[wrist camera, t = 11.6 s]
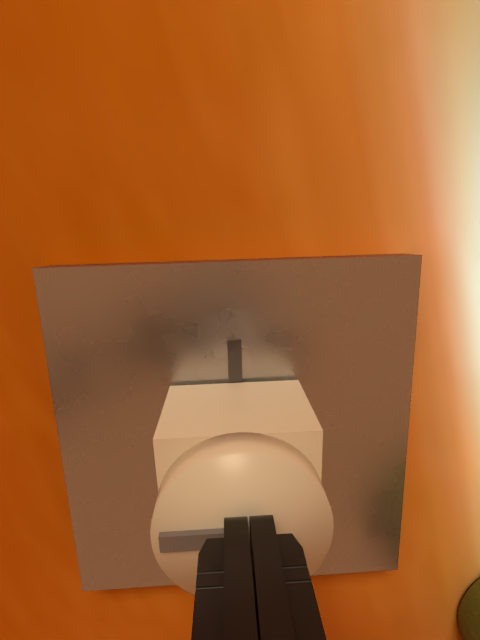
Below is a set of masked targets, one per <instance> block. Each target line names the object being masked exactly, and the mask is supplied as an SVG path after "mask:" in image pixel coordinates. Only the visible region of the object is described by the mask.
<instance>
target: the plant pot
mask: <svg viewBox="0 0 480 640" xmlns="http://www.w3.org/2000/svg"><path fill="white" fill-rule="evenodd" d="M457 618H458V623H459V628H460V632H461V635H462V638H463V640H480V578H479V579H478V580H477V581H475V582H474V584H473V585H472V586H471V587H470V588H469V589H468V591H467V592H466V593H465V595H464V597H463V599H462V601H461V603H460V606H459V609H458V617H457Z"/></svg>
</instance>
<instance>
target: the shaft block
mask: <svg viewBox="0 0 480 640" xmlns="http://www.w3.org/2000/svg"><path fill="white" fill-rule="evenodd" d="M421 261H422V255H414V254H383V255H353V256H323V257H294V258H264V259H234V260H205V261H175V262H145V263H115V264H86V265H56V266H44V267H38V268H32V269H33V276H34V282H35V289H36V295H37V301H38V308H39V314H40V321H41V327H42V334H43V340H44V347H45V353H46V359H47V366H48V372H49V379H50V385H51V392H52V398H53V404H54V411H55V417H56V424H57V430H58V437H59V443H60V450H61V456H62V462H63V469H64V475H65V482H66V488H67V495H68V501H69V508H70V514H71V520H72V527H73V533H74V540H75V546H76V553H77V559H78V565H79V572H80V578H81V585H82V591H94V590H109V589H123V588H138V587H152V586H167V585H176V584H175V583H174V582H173V581H172V580H171V579H170V578H169V577H168V576H167V575H166V574H165V573H164V571H163V570H162V569H161V567H160V566H159V564H158V562H157V560H156V558H155V555H154V553H153V550H152V545H151V538H150V528H151V521H152V516H153V512H154V508H155V504H156V500H157V495H158V485H157V476H156V466H155V457H154V447H153V437H154V434H155V431H156V428H157V424H158V421H159V418H160V415H161V412H162V409H163V406H164V403H165V400H166V397H167V393H168V390H169V387H170V386H179V385H200V384H221V383H242V382H263V381H285V380H299V382H300V384H301V386H302V388H303V390H304V392H305V394H306V396H307V398H308V401H309V403H310V405H311V407H312V409H313V411H314V413H315V415H316V417H317V419H318V421H319V423H320V425H321V427H322V429H323V448H322V477H321V483H322V486H323V488H324V491H325V494H326V496H327V499H328V501H329V504H330V507H331V510H332V515H333V523H334V530H333V538H332V542H331V545H330V548H329V551H328V553H327V555H326V557H325V559H324V560H323V562H322V563H321V565H320V566H319V568H318V569H317V570H316V571H315V572H314V574H312V575H311V576H313V575H328V574H343V573H357V572H372V571H387V570H397V568H398V555H399V543H400V530H401V517H402V504H403V491H404V479H405V466H406V453H407V440H408V427H409V415H410V402H411V389H412V376H413V363H414V351H415V338H416V325H417V312H418V299H419V287H420V274H421Z"/></svg>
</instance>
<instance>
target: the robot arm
mask: <svg viewBox="0 0 480 640" xmlns="http://www.w3.org/2000/svg"><path fill="white" fill-rule="evenodd" d="M249 531H250V541H249ZM191 640H326V637H325V633H324V629H323V625H322V621H321V617H320V613H319V609H318V605H317V601H316V598H315V594H314V590H313V586H312V583H311V578H310V574H309V570H308V568H307V562H306V558H305V555H304V551H303V547H302V546H301V545H300V543H299V542H298V541H297V539H296V538H295V537H294V535H293V534H292V533H288V534H276V529H275V523H274V518H273V515H259V516H249V529H248V518H247V516H244V517H227V518H224V538H207V539H206V541H205V543H204V544H203V546H202V548H201V550H200V552H199V554H198V565H197V577H196V591H195V601H194V613H193V626H192V638H191Z"/></svg>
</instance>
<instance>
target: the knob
mask: <svg viewBox="0 0 480 640" xmlns="http://www.w3.org/2000/svg"><path fill="white" fill-rule="evenodd" d="M153 447H154V457H155V466H156V476H157V485H158V495H157V500H156V504H155V508H154V512H153V516H152V521H151V528H150V538H151V545H152V550H153V553H154V555H155V558H156V560H157V562H158V564H159V566H160V567H161V569H162V570H163V571H164V573H165V574H166V575H167V576H168V577H169V578H170V579H171V580H172V581H173V582H174V583H175V584H176V585H178V586H179V587H180V588H182V589H183V590H185V591H187V592H189V593H190V594H192V595H195V591H196V577H197V565H198V554H199V552H200V550H201V548H202V546H203V544H204V543H205V541H206V539H207V538H224V518H227V517H244V516H247V518H248V529H249V516H259V515H273V518H274V523H275V529H276V534H288V533H292V534H293V535H294V537H295V538H296V539H297V541H298V542H299V543H300V545H301V546H302V547H303V551H304V555H305V558H306V562H307V568H308V570H309V574H310V576H311V575H312V574H314V572H315V571H316V570H317V569H318V568H319V566H320V565H321V563H322V562H323V560H324V559H325V557H326V555H327V553H328V551H329V548H330V545H331V542H332V538H333V530H334V523H333V515H332V510H331V507H330V504H329V501H328V499H327V496H326V494H325V491H324V488H323V486H322V483H321V477H322V448H323V429H322V427H321V425H320V423H319V421H318V419H317V417H316V415H315V413H314V411H313V409H312V407H311V405H310V403H309V401H308V398H307V396H306V394H305V392H304V390H303V388H302V386H301V384H300V382H299V380H285V381H263V382H242V383H221V384H200V385H179V386H170V387H169V390H168V393H167V397H166V400H165V403H164V406H163V409H162V412H161V415H160V418H159V421H158V424H157V428H156V431H155V434H154V437H153ZM249 541H250V531H249Z"/></svg>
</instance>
